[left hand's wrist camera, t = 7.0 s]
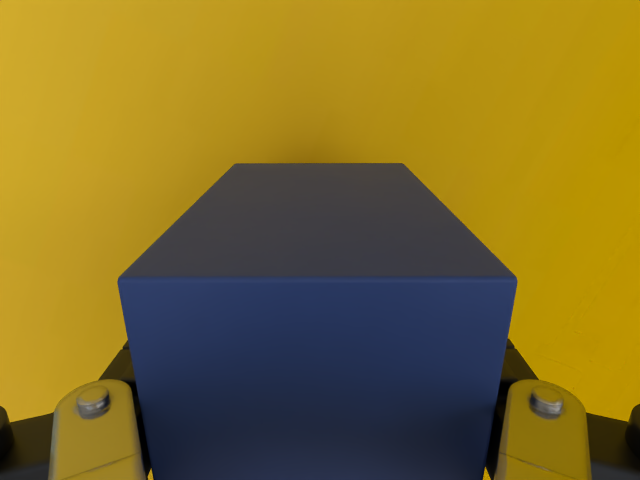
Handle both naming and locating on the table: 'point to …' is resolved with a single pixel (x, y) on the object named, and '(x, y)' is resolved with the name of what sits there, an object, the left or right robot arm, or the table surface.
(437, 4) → the table surface
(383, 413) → the long box
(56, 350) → the table surface
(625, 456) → the left robot arm
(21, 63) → the table surface
